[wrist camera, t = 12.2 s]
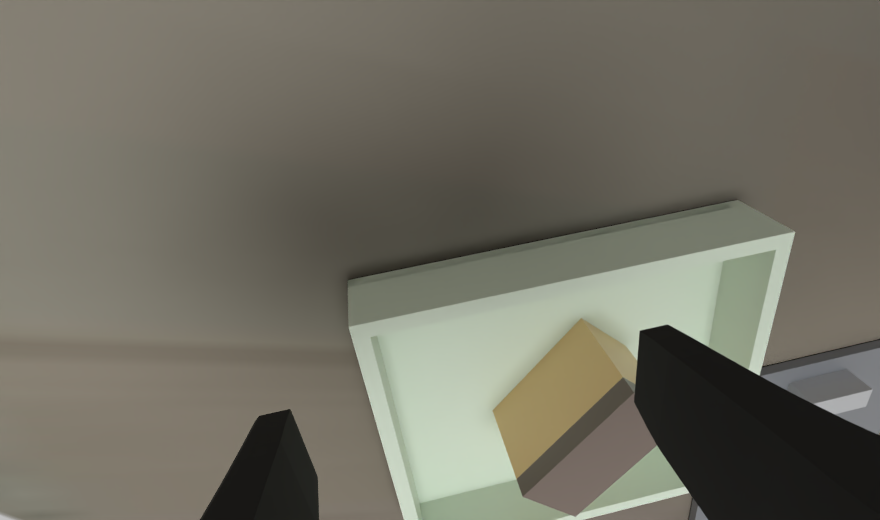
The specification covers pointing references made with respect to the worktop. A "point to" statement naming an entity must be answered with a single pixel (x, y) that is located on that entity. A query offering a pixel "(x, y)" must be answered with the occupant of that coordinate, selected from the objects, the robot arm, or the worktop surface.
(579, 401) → the block
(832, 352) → the fuse board
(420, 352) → the parts tray
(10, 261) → the worktop surface
